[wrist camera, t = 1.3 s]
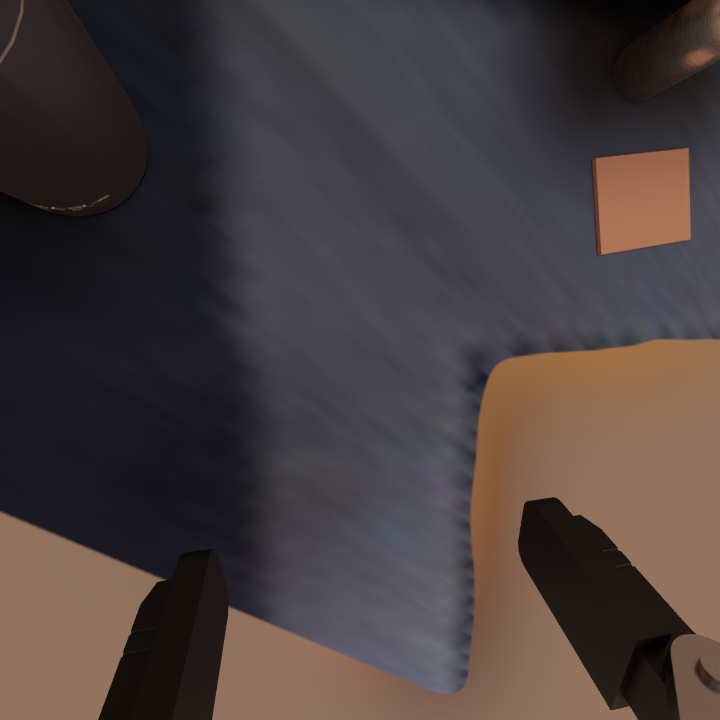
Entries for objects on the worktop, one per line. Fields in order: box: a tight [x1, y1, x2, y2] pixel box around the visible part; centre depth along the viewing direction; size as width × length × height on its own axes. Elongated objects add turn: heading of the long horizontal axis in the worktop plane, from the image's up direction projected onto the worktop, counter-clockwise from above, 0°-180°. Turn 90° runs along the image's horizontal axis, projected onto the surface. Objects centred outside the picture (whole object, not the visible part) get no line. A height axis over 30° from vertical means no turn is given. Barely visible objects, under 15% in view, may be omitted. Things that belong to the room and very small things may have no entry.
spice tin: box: [614, 0, 720, 103], centre depth 28 cm, size 5×5×12 cm
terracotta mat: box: [592, 148, 691, 255], centre depth 36 cm, size 8×10×1 cm
